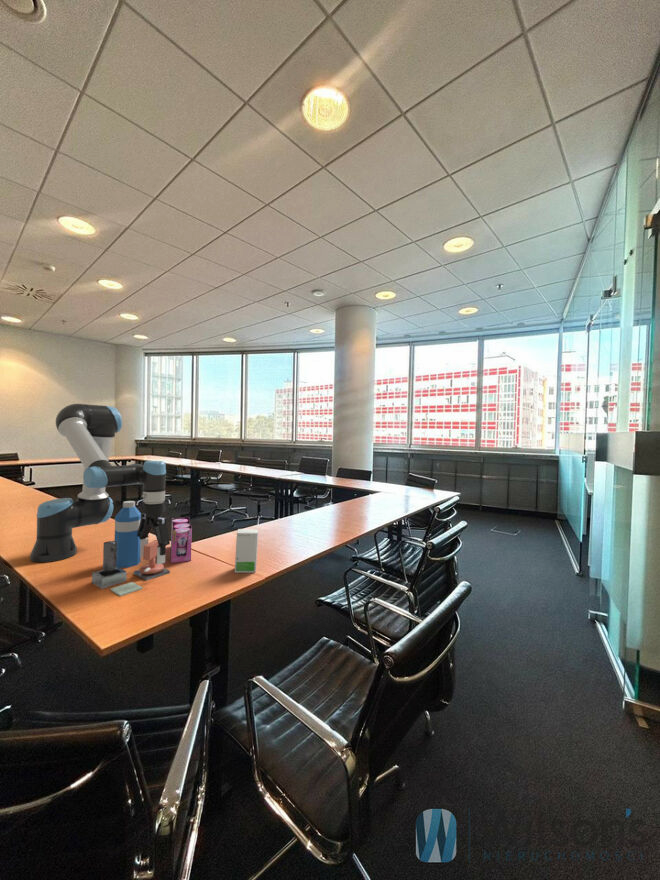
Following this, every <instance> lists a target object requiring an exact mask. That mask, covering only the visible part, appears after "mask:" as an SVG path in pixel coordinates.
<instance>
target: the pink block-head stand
mask: <svg viewBox="0 0 660 880" xmlns="http://www.w3.org/2000/svg"><path fill="white" fill-rule="evenodd" d="M158 545H159V544H158V541H157V539H154V540H152V541H150V542H148V544H147V545H145V546H144V553H143V557H142V559H143V560H144V561H149V563H147V564H145V565H143V566H140V568H139V570H140V573H142V574H154V573H158V572H160V571H162V570H163V569H164V568H165V566H164V563H162V564H159V565H158V564H157V562H156V557H157V546H158Z"/></svg>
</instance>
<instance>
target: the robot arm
mask: <svg viewBox="0 0 660 880" xmlns="http://www.w3.org/2000/svg"><path fill="white" fill-rule="evenodd" d="M55 427H56V429H57V431H58V432H59V434H60V435H61V436H63V437H65V438H66V440H67V441H68V443H69V444H70V446H71V448H72V449H73V451H74V452H75V454H76V456H77V457H78V459H79V461H80V463H81V464H82V465H83V467H84V468H83V469H84V471H83V475H82V479H83V480H82V491H81V492H79V493H78V494H77V498H76V500H73V498H71V497H64V498H61V497H60V498H55V499H51V500H47V501H44V502H42V503H40V504H39V505H38V507H37V512H36V540H35V542H34V544H33V546H32V549H31V553H30V559H29V560H30V561H31V562H34V563H49V562H50V563H51V562H56V561H62V560H64V559H68V558H71V557H74V556H75V555H76V554H77V553H78V552H77V550H78V549H77V545H76V542H75V540H74V537H73V529H74V528H80V527H81V528H82V527H86V526H92V525H93V526H94V525H99V524H102V523H105V522H107V521H108V520H110V518H111V517H112V516H113V511H114V504H113V503H114V501H113V499H112V498H111V497H109V496H110V495H109V493H108V492H107V491H106V488H111V487H120V486H130V485H142V495H141V497H142V502H143V503H142V513H141V520H140V524H139V529H138V533H137V536H138V537H139V538H140V539H141V540H140V557H141V558H143V553H144V546H145V545H147V544H149V537H150V536H149V535H150V534H149V533H150V532H151V530H152V531H154V534H155V538H156V540H157V541H158V544H159V545H158V546H157V556H156V563H157V564H158V565H159V564H165V563H166V554H167V553H166V551H167V550H166V549H167V548H166V547H167V546H169V545H171V540H170V537H169V531H168V525H167V522H168V521H167V519H168V518H166V517H162V514H163V513H164V512H165V511H166V503H165V501H166V484H167V483H166V479H167V477H166V476H167V469H166V462H165V461H162V460H146V461H144V463H143V464H141V463H131V464H129V465H128V464H127V465H112V464H111V462H110V460H109V459H110V448H111V447H110V446H111V440H113V439H114V438H115V437H116V434H117V433H119V432H120V431H121V430H122V427H123V419H122V415H121V413H120V411H119V409H117V408H116V407H114V406H108V405H102V404H101V405H100V404H99V405H98V404H88V403H87V404H85V403H71V404H68V405H66V406H65V407H63V408H62V409H61V410H60V411H59V412H58V413H57V415H56V417H55ZM140 532H141V533H140Z"/></svg>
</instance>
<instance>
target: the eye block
mask: <svg viewBox="0 0 660 880" xmlns="http://www.w3.org/2000/svg"><path fill="white" fill-rule="evenodd" d="M127 572H128V571H126V570H124V569H123V568H119V567H117V566H116V573H115V574H112V575H108V576H105V577H104V576H103V569H102V570H97V571H93V572H91V583H92V584H93V585H95V586H97V587H98V588H99V589H101V590H104V589H106V588H109V587H113V586H116V585H119V584H120V585H121V584H122V583H126V582H127V579H128V578H127V577H128V576H127V574H128V573H127Z"/></svg>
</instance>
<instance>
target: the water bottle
mask: <svg viewBox="0 0 660 880" xmlns="http://www.w3.org/2000/svg"><path fill="white" fill-rule="evenodd" d="M141 514H142V513H141V512H140V510H139V509H138V508H137V507H136V501H134V500H126V501H125V500H124V501H123V502H122V508H121V509H120V510H119V511H118V513H117V514H116V515H115V516H114V540H113V541H117V561H116V566H117V567H119V568H121V569H123V568H124V569H125V568H131V567H134V566H138V565H139V564H140V563H141V561H142V560H141V558H142V557H140V540H141V539H140V538H139V537H138V536H137V533H138V529H139V524H140V520H141ZM140 533H141V532H140Z"/></svg>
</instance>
